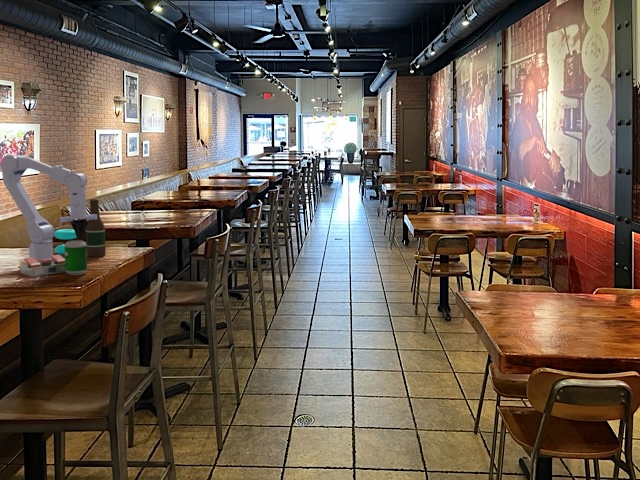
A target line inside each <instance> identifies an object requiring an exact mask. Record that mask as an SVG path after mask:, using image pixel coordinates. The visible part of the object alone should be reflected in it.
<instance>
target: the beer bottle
mask: <svg viewBox="0 0 640 480" xmlns="http://www.w3.org/2000/svg"><path fill="white" fill-rule="evenodd" d="M89 203H90V204H89V215H91V214H97V219H96V220H95V219H93V220H87V221H88V225H87V227H86V229H85V243H86V253H87V258H100V257H101V258H102V257H105V256H106V252H107V251H106V249H107V248H106V228H105V224H104V222H103V220H102V219H101V215H100V208H99V199H97V198H96V199H95V198H93V199H90V200H89Z"/></svg>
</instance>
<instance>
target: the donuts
mask: <svg viewBox="0 0 640 480" xmlns="http://www.w3.org/2000/svg"><path fill="white" fill-rule="evenodd" d="M54 237H55V238H56V239H59V240H73V239H77V237H76V234H75V231H74V229H73V228H65V229H64V228H63V229H57V230H55V235H54ZM64 244H65V243H64ZM64 244H60V245H59V244H58V245H57V246H56V247H55V248H54V252H55V253H56V255H65V247H64Z"/></svg>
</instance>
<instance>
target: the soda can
mask: <svg viewBox="0 0 640 480" xmlns="http://www.w3.org/2000/svg"><path fill="white" fill-rule="evenodd" d="M64 247H65V254H64V259H65V270H66V272H65V273H67V274H68V276H82V275H85V274H86V273H87V271H88V259H87V258H88V256H87V252H86V241H85V242H84V240H78V239H76V240H73V239H72V240H68V241H66V242H65V243H64Z"/></svg>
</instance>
